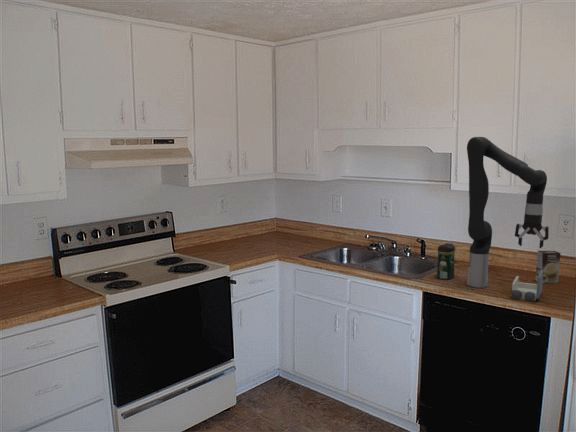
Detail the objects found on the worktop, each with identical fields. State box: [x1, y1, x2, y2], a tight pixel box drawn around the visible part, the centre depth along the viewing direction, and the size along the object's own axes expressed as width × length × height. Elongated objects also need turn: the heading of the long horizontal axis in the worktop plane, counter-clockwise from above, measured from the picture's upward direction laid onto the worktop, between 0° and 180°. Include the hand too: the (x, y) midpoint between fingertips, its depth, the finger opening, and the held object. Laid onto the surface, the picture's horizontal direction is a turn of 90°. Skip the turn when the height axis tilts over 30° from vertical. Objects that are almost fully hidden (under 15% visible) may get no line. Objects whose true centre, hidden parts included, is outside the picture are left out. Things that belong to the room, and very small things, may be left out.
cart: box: [510, 275, 537, 302], centre depth 248 cm, size 10×17×7 cm, turn 150°
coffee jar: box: [436, 243, 456, 280], centre depth 279 cm, size 10×8×19 cm
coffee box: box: [534, 250, 561, 284], centre depth 270 cm, size 9×6×16 cm
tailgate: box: [536, 270, 544, 300], centre depth 245 cm, size 1×16×10 cm, turn 150°
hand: (530, 246), depth 245 cm, fingers open, 8 cm apart
